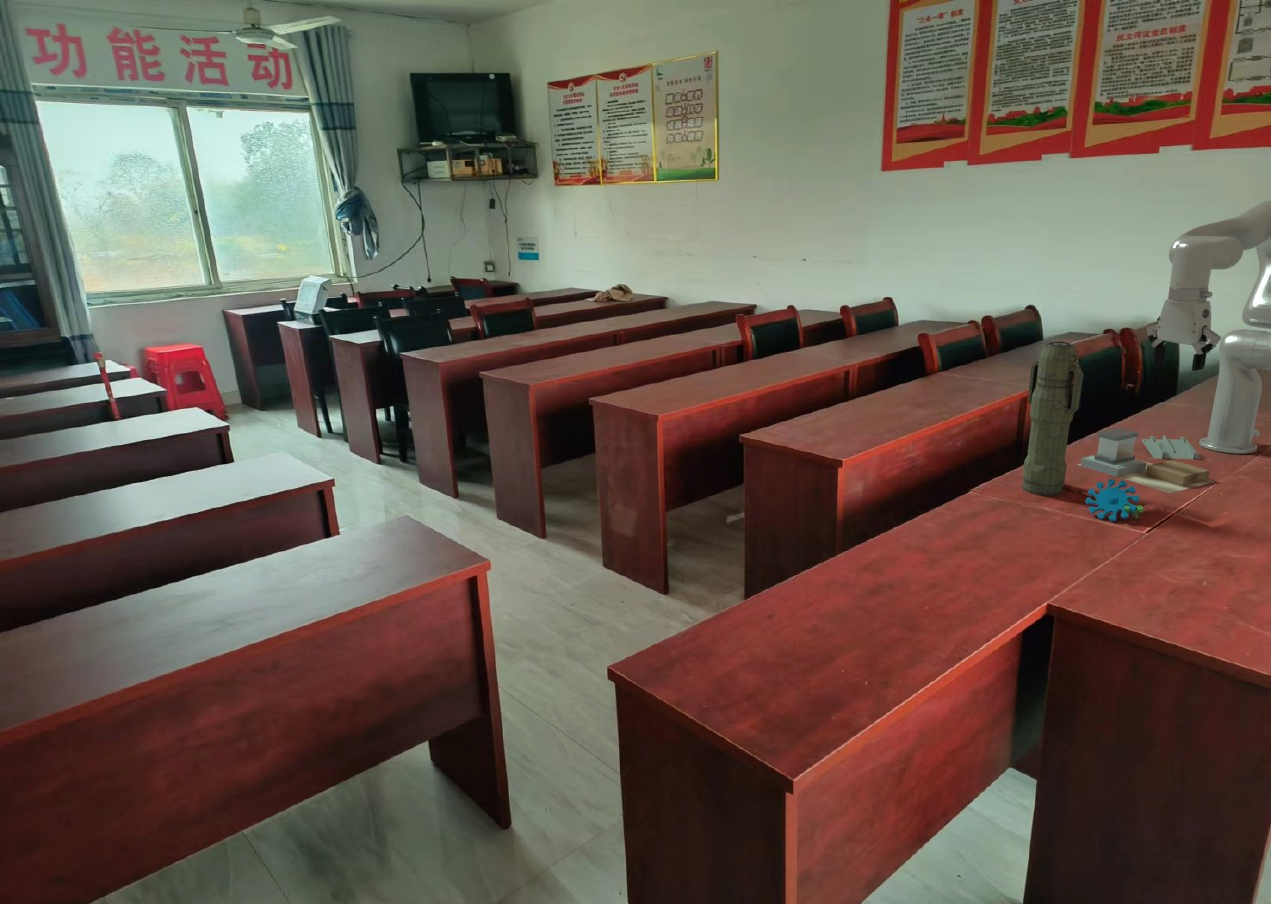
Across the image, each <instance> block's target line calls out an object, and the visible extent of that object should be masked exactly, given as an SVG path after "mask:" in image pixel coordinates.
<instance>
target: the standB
mask: <svg viewBox="0 0 1271 904" xmlns="http://www.w3.org/2000/svg"><path fill="white" fill-rule="evenodd" d="M1136 459H1137V458H1135V460H1131V461H1127V462H1122V463H1118V464H1113V465H1112V464H1108V463H1105V462H1102V461H1098V460H1095V459H1094V454H1093V455H1090V456H1089V455H1088V456H1084V457H1081V460H1080V464H1081V467H1083V466H1084V467H1085V468H1087V469H1091V470H1093V469H1094V470H1093V471H1096V470H1097V472H1099V471H1100V473H1103V474H1106V473H1107V474H1106V475H1109V474H1110V476H1112V475H1113V477H1115V476H1116V478H1119V476H1123V475H1127V474H1132V473H1136V472H1140V471H1145V470H1146V464H1147V463H1146V462H1147V461H1144V460H1141V461H1139V460H1140V459H1137V460H1136ZM1143 461H1144V462H1143Z"/></svg>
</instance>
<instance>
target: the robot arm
mask: <svg viewBox="0 0 1271 904" xmlns="http://www.w3.org/2000/svg"><path fill="white" fill-rule="evenodd" d="M1252 249H1255V251H1256V254H1257V260H1258V264H1259V266H1258V267H1259V271H1258V274H1257V278H1256V281H1255V283H1254V284H1253V287H1252V289H1251V292H1250V293H1249V295H1248V298H1247V300H1246V303H1245V304H1244V308H1243V310H1242V313H1241V319H1242V321H1243V323H1244V324H1245V325H1247V326H1249V327H1252V328H1253V327H1254V328H1259V329H1267V330H1268V329H1269V330H1271V199H1268V200H1265V201H1263V202H1260V203H1258V204H1257V205H1255V206H1253V207H1251V208H1250V209H1248V210H1246V211H1245V212H1243V213H1241V214H1239V215H1237V216H1236V217H1235V216H1233V217H1231V218H1227V219H1226V218H1225V219H1222V220H1219V221H1215V222H1211V223H1207V224H1203V225H1200V226H1196V227H1194V228H1192V229H1189V230H1187V231H1186V232H1184V233H1182V234H1181V235H1180V236H1178V237H1177V238H1176V239H1175V240H1174V241H1173V242H1172V244H1171V246H1170V248H1169V249H1168V260H1169V262H1170V264H1171V265H1172V266H1171V267H1172V268H1171V275H1170V282H1169V289H1168V296H1167V298H1166V299H1165V300H1164V303H1163V306H1162V307H1161V308H1162V309H1161V311H1160V315H1159V320H1158V323H1155V324H1153V325H1149V326H1147V327H1146V328H1145V331H1146V333H1147V336H1148V340H1149V342H1150V343H1151V347H1152V348H1153V351H1152V352H1153V353H1152V364H1155V365H1156V364H1161V363H1164V362H1165V356H1166V351H1167V350H1166V349H1167V346H1166V343H1174V344H1179V345H1180V344H1181V345H1187V346H1192V348H1193V349H1194V350H1195V353H1194V354H1193V356H1192V365H1191V370H1192V371H1193V372H1197V371H1201V370H1204V368H1205V365H1206V360H1207V354H1209V353H1210V352H1211V351H1212V350H1213V349H1215V348H1216V346H1217V345H1218V343H1219V342H1220V343H1219V349H1218V351H1219V352H1218V353H1219V356H1218V357H1219V369H1218V379H1217V384H1216V390H1215V394H1214V400H1213V407H1212V411H1211V417H1210V420H1209V421H1210V422H1209V427H1208V432H1207V436H1206V437H1203V438H1201V439H1199V442H1198V443H1199V445H1200V446H1201V447H1202V448H1205V449H1207V450H1210V451H1215V452H1219V453H1221V452H1222V453H1226V454H1227V453H1228V454H1239V455H1242V454H1253V453H1255V452H1257V450H1258V445H1257V444H1256V443H1254V442H1252V440H1253V438H1257V437H1259V436H1260V435H1261V432H1260V430H1259V429H1255V424H1256V420H1257V414H1258V409H1259V405H1260V399H1261V395H1262V389H1263V381H1262V377H1261V376H1260V374H1259V373H1258V372H1259V371H1257V370H1258V369H1259V370H1266V371H1271V331H1267V330H1259V329H1257V330H1256V329H1244V328H1243V329H1234V330H1231V331H1229V332H1227V333H1226V334H1225V335H1224V336H1223V337H1222V336H1221V335H1219V334H1218V333H1216V332H1215V331H1214V330H1212V329H1211V328H1212V308H1211V307H1212V306H1211V301H1209V300H1207V299H1210V298H1212V296H1213V292H1212V291H1210V290H1209V285H1210V279H1211V273H1212V270H1213V271H1214V270H1218V271H1223V270H1228V269H1230V268H1232V267H1234V266H1235V265H1236V266H1237V264H1238V263H1239V262H1240V260H1241V259H1242V257H1243V254H1244V251H1248V250H1252ZM1156 331H1157V332H1156Z"/></svg>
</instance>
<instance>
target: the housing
mask: <svg viewBox="0 0 1271 904" xmlns="http://www.w3.org/2000/svg"><path fill="white" fill-rule="evenodd" d="M1139 435H1140V432H1137V431H1133V430H1131V429H1130V430H1129V429H1125V428H1123V427H1122V428H1121V427H1118V428H1114V429H1109V430H1102V431H1098V432H1097V435H1096V436H1097V437H1099V440H1098V447H1097V454H1095V455H1094V454H1093V455H1094V459H1095V460H1098V461H1102V462H1105V463H1108V464H1112V465H1113V464H1118V463H1122V462H1127V461H1131V460H1135V459H1136V455H1134V451H1135V443H1136V438H1139V437H1140V436H1139Z"/></svg>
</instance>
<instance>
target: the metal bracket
mask: <svg viewBox="0 0 1271 904" xmlns="http://www.w3.org/2000/svg"><path fill="white" fill-rule="evenodd" d="M1141 441H1142V443H1143V445H1144V446H1145V447H1146V449H1147V451H1148V452H1149V454H1150V455H1151V457H1152V458H1151V457H1150V458H1147V459H1149V460H1151V459H1152V460H1157V459H1160V460H1165V459H1186V460H1202V457H1201V456H1200V455H1199V454H1198V452H1197V451H1196V450H1195V448H1194V447H1193V445H1191V443H1190V441H1188V439H1186V436H1180V438H1179V439H1177V438H1176V439H1173V438H1172V439H1171V438H1170V439H1169V438H1168V437H1166V435H1165V434H1163V435H1162V439H1161V438H1160V439H1159V438H1157V439H1156V437H1155V436H1150V437H1149V438H1142V439H1141ZM1204 460H1209V461H1211V460H1212V459H1211V458H1209V459H1208V458H1206V459H1204Z"/></svg>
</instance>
